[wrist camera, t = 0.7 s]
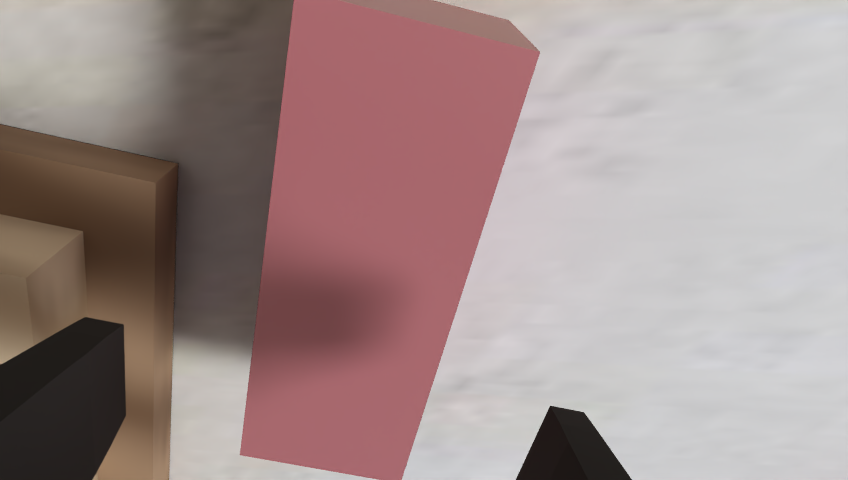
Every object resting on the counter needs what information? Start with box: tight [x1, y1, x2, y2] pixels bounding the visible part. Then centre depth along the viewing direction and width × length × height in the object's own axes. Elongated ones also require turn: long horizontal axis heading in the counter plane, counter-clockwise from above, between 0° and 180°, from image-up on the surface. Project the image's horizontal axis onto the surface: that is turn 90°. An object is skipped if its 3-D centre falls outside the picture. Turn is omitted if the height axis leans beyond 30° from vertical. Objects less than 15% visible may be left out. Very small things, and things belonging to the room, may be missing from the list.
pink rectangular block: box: [240, 0, 540, 480], centre depth 15 cm, size 12×4×5 cm, turn 167°
